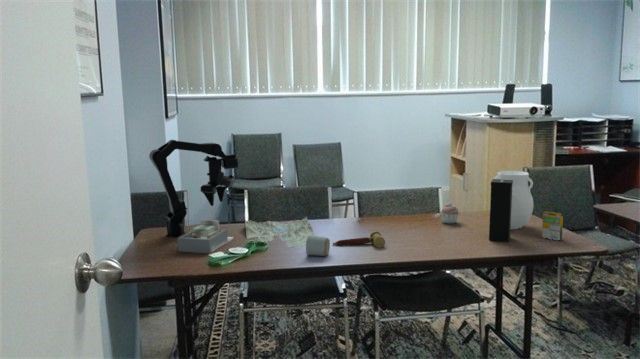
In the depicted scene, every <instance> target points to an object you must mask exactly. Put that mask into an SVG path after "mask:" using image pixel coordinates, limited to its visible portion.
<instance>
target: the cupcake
mask: <svg viewBox="0 0 640 359" xmlns="http://www.w3.org/2000/svg"><path fill="white" fill-rule="evenodd" d="M439 214H440V216H441V221H442V223H443V224H446V223H447V225H448V224H449V225H453V224H456V223H457V221H458V217H459V215H460V211H459V209H458V208H457V206H456V205H454V204H453V203H452V202H451V201H449V202H447V203H445V205H444V206H442V208H441V211H440V212H439Z"/></svg>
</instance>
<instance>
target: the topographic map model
mask: <svg viewBox="0 0 640 359" xmlns="http://www.w3.org/2000/svg"><path fill="white" fill-rule="evenodd" d="M283 227H284V228H283ZM244 231H245V236H246V239H249V240H247V241H246V242H247V243H250V242H249V241H262V242H265V241H266V243H265V244H268V242H271V241H274V240H275V237H278V239H279V240H280V241H282V242H285V243H286V244H285V245H286V247H287V248H295V246H297V247H298V246H299V247H306V242H307V238H308V236H309V235H312V236H316V235H315V234H314V232H313V226H312V225H311V223H310V222H309V220H308V216H305V217H303V218H302V219H301V220H299V219H297V220H291V221H289V222H288V223H282V222H278V221H271V220H268V221H264V222H258V223H257V222H256V221H253V220H251V219H250V220H247V221H246V220H245V221H244ZM284 234H285V235H284ZM256 237H258V238H256ZM251 238H254V239H255V240H254V239H251Z"/></svg>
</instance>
